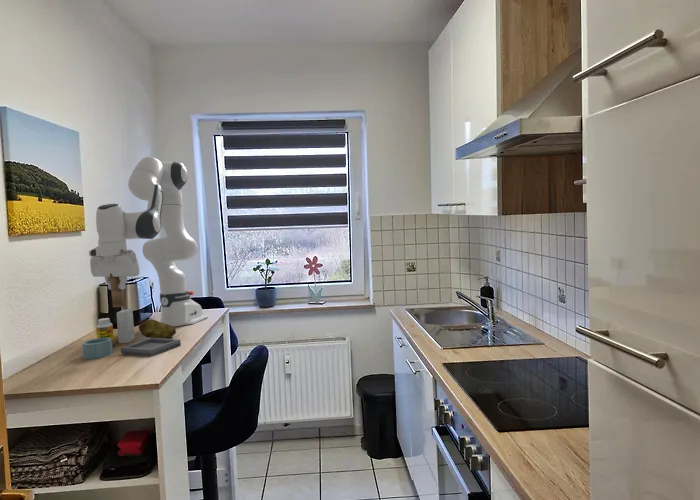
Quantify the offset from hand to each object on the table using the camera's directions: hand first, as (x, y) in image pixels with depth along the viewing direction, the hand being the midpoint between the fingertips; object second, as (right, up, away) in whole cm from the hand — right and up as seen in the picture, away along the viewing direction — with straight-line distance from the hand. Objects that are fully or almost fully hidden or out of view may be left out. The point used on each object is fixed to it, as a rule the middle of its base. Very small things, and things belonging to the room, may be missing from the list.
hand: (117, 289), depth 174 cm
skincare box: (-5, -22, +19) cm, 29 cm away
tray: (+11, -22, +3) cm, 25 cm away
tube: (-7, -23, 0) cm, 24 cm away
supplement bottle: (-10, -23, +14) cm, 28 cm away
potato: (+7, -21, +19) cm, 29 cm away
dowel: (0, -6, 0) cm, 6 cm away
